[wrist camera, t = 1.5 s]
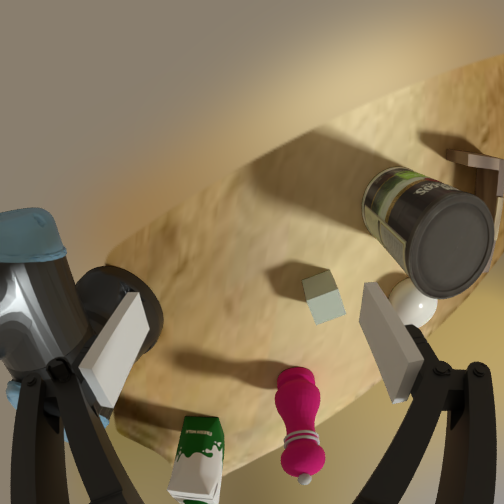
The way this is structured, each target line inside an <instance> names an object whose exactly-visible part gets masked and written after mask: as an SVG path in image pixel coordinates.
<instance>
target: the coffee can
mask: <svg viewBox="0 0 504 504" xmlns="http://www.w3.org/2000/svg"><path fill="white" fill-rule="evenodd" d="M362 216H363V220H364V223H365V225H366V227H367V229H368V230H369V232H370V233H371V234H372V235H373V236H374V237H375V238H376V239H377V240H378V241H379V242H380V243H381V244H382V245H383V247H384V248H385V249H386V250H387V251H388V252H389V253H390V255H391V256H392V257H393V258H394V259H395V260H396V262H397V263H398V264H399V265H400V266H401V268H402V269H403V270H404V271H405V272H406V274H407V275H408V276H409V277H410V279H411V281H412V282H413V284H414V285H415V287H416V288H417V289H418V290H419V291H420V292H421V293H422V294H423V295H425V296H427V297H430V298H433V299H447V298H451V297H454V296H456V295H458V294H460V293H462V292H464V291H465V290H466V289H468V288H469V287H470V286H471V285H472V284H473V283H474V282H475V281H476V280H477V279H478V278H479V276H480V275H481V274H482V272H483V271H484V269H485V267H486V265H487V263H488V261H489V259H490V256H491V253H492V249H493V244H494V235H495V230H494V223H493V218H492V215H491V213H490V211H489V209H488V207H487V205H486V204H485V203H484V202H483V201H482V200H481V199H480V198H479V197H477V196H475V195H473V194H470V193H467V192H463V191H461V190H458V189H456V188H454V187H452V186H449V185H447V184H444V183H442V182H439V181H437V180H435V179H432V178H430V177H427V176H424V175H422V174H419V173H417V172H414V171H413V170H411V169H408V168H405V167H393V168H389V169H386V170H384V171H382V172H381V173H379V174H378V175H376V176H375V177H374V178H373V180H372V181H371V182H370V183H369V185H368V187H367V189H366V191H365V193H364V196H363V201H362Z"/></svg>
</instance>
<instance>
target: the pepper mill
mask: <svg viewBox="0 0 504 504" xmlns="http://www.w3.org/2000/svg"><path fill="white" fill-rule="evenodd" d="M277 388H278V391H277V392H276V394H275V405H276V408H277V411H278V413H279V414H280V416H281V417H282V419H283V421H284V423H285V426H286V431H287V436H285V438H284V448H285V450H284V452H283V453H282V455H281V465H282V467H283V469H284V471H285V472H286V473H288V474H289V475H291V476H295V477H298V482H299V483H300V484H302V485H307V484H309V483H310V482H311V479H312V478H311V475H313V474H315V473H317V472H318V471H320V469H322V467H323V465H324V463H325V452H324V450H323V449H322V447H320V446H319V444H320V441H319V435H318V434H317V433H316V432H315V428H314V421H315V416H316V413H317V411H318V408H319V405H320V392H319V389H318V388H317V387H316V386H315V380H314V375H313V373H312V372H311V371H310V370H308V369H306V368H302V367H295V368H290V369H287V370H285V371H283V372H282V373H281V374H280V375H279V376H278V379H277Z"/></svg>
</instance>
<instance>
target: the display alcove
mask: <svg viewBox="0 0 504 504" xmlns="http://www.w3.org/2000/svg"><path fill="white" fill-rule="evenodd" d="M447 160H449V161H452V162H456V163H459V164H463V165H466V166H471V167H477V174H476V186H475V196H477V197H479V198H480V199H481V200H482V201H483V202H484V203H485V204H486V205H487V207H488V209H489V211H490V213H491V215H492V218H493V223H494V230H495V235H494V244H493V249H492V253H491V256H490V259H489V261H488V263H487V265H486V267H485V269H484V271H483V272H482V273H484V272H489V268H490V264H491V260H492V256H493V251H494V247H495V242H496V240H497V236H498V231H499V226H500V220H501V213H502V207H503V199H504V198H503V193H504V160H503V159H500V158H496V157H492V156H488V155H485V154H479V153H472V152H466V151H459V150H452V149H447Z"/></svg>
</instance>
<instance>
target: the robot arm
mask: <svg viewBox="0 0 504 504" xmlns="http://www.w3.org/2000/svg"><path fill="white" fill-rule="evenodd" d="M66 254H67V252H66V248H65V247H64V246H63V244H62V242H61V239H60V236H59V233H58V229H57V226H56V223H55V221H54V218H53V217H52V215H51V214H50V213H49V212H48V211H46V210H44V209H42V208H23V209H17V210H11V211H7V212H2V213H0V360H2V361H3V363H4V365H5V366H6V368H7V369H8V371H9V372H10V374H11V375H12V378H13V379H12V381H9V382H8V384H7V385H8V386H7V389H6V394H7V398H8V400H9V402H10V403H11V404H12V406H13V407H14V408H15V409H16V417H15V425H14V433H13V444H12V457H11V504H70V503H69V496H68V488H67V478H66V468H65V451H64V441H66V442H68V443H69V445H70V448H71V451H72V454H73V457H74V460H75V463H76V466H77V468H78V471H79V473H80V476H81V478H82V481H83V484H84V486H85V488H86V491H87V493H88V495H89V497H90V500H91V502H90V503H89V504H144V502H143V501H142V499H141V497H140V496H139V494H138V493H137V491H136V489H135V487H134V486H133V484H132V482H131V480H130V479H129V477H128V475H127V473H126V471H125V469H124V467H123V466H122V464H121V462H120V460H119V458H118V456H117V454H116V452H115V450H114V448H113V446H112V444H111V441H110V440H109V437H108V435H107V433H106V431H105V428H106V426H107V425H108V424H109V419H110V416H111V414H112V411H113V409H114V407H115V404H116V402H117V399H118V397H119V395H120V392H121V390H122V388H123V386H124V383H125V381H126V379H127V377H128V375H129V372H130V370H131V368H132V366H133V364H134V363H135V362H136V361H137V360H138V359H139V358H140V357H141V356H142V355H143V354H145V353H146V352H148V351H149V350H150V349H151V348H152V347H153V346H154V345H155V344H156V342H157V340H158V338H159V336H160V334H161V331H162V328H163V312H162V309H161V306H160V304H159V301H158V300H157V298H156V296H155V295H154V293H153V292H152V291H151V289H150V288H149V287H148V286H147V285H146V284H145V283H144V282H143V281H142V280H140V279H139V278H138V277H136V276H135V275H133V274H131V273H130V272H128V271H125V270H123V269H120V268H116V267H111V266H101V267H96V268H94V269H91V270H90V271H88V272H87V273H86V274H85V275H84V276H83V277H82V278H81V279H80V280H79V281H78V282H77V284H76V285H75V282H74V280H73V277H72V274H71V271H70V268H69V265H68V262H67V259H66ZM359 323H360V325H361V328H362V330H363V332H364V334H365V337H366V339H367V342H368V344H369V346H370V349H371V351H372V353H373V356H374V358H375V361H376V363H377V366H378V368H379V371H380V373H381V376H382V378H383V381H384V383H385V386H386V388H387V391H388V393H389V396H390V399H391V401H392V404H395V403H399V402H404V401H407V399H408V397H409V395H410V393H411V395H412V397H413V401H412V403H411V405H410V407H409V409H408V411H407V414H406V415H405V418H404V420H403V422H402V424H401V425H400V427H399V429H398V431H397V433H396V435H395V437H394V439H393V440H392V442H391V444H390V446H389V447H388V449H387V451H386V453H385V454H384V456H383V458H382V459H381V461H380V463H379V464H378V466H377V467H376V469H375V471H374V472H373V474H372V475H371V477H370V478H369V480H368V481H367V483H366V484H365V486H364V487H363V489H362V490H361V492H360V493H359V495H358V496H357V497H356V499H355V500H354V501H353V503H352V504H398V503H399V501H400V500H401V498H402V496H403V494H404V493H405V491H406V489H407V487H408V485H409V483H410V481H411V480H412V478H413V476H414V474H415V472H416V470H417V468H418V466H419V464H420V461H421V459H422V457H423V455H424V453H425V451H426V448H427V446H428V444H429V442H430V439H431V436H432V434H433V432H434V429H435V427H436V424H437V422H438V419H439V416H440V414H441V411H447V427H446V440H445V449H444V457H443V464H442V471H441V477H440V483H439V488H438V493H437V498H436V503H435V504H493V503H494V494H495V481H496V460H497V459H496V458H497V449H496V448H497V447H496V446H497V439H496V417H495V404H494V394H493V386H492V378H491V372H490V369H489V368H488V367H487V365H485V364H484V363H481V362H473V363H470V365H469V366H468V368H467V370H455V369H452V367H451V366H450V365H449V364H448V363H446V362H444V361H439V360H438V358H437V356H436V355H435V353H434V351H433V350H432V348H431V347H430V345H429V343H427V340H426V339H425V337H424V335H423V334H422V332H421V331H420V329H418V328H417V327H416V326H414V325H413V324H409V325H404V324H403V323H402V321H401V319H400V318H399V316H398V314H397V313H396V311H395V310H394V308H393V306H392V305H391V303H390V302H389V300H388V299H387V297H386V295H385V294H384V292H383V291H382V289H381V288H380V286H379V285H378V283H377V282H368V283H364V290H363V297H362V304H361V311H360V318H359Z"/></svg>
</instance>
